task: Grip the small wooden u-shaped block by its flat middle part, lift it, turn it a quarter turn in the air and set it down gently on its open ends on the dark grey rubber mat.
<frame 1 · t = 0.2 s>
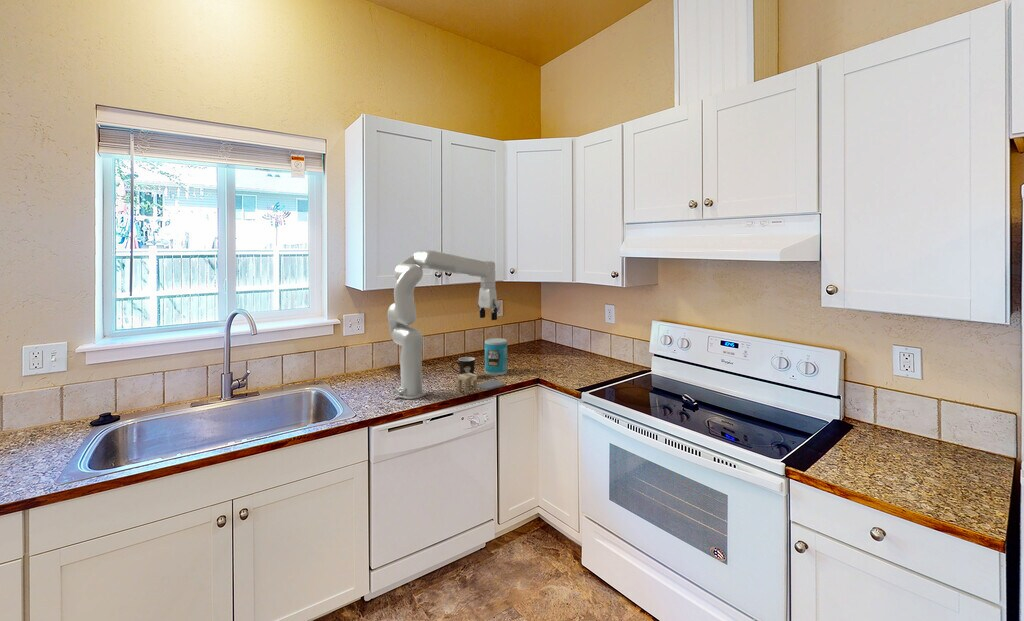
hand: (488, 318, 230), 31 cm above the worktop, tool pointing down, fingers open, 9 cm apart
food can: (496, 373, 242), on the worktop
coffee mug: (464, 377, 234), on the worktop
mat: (491, 385, 220), on the worktop
wooden u-shaped block: (467, 391, 211), on the worktop
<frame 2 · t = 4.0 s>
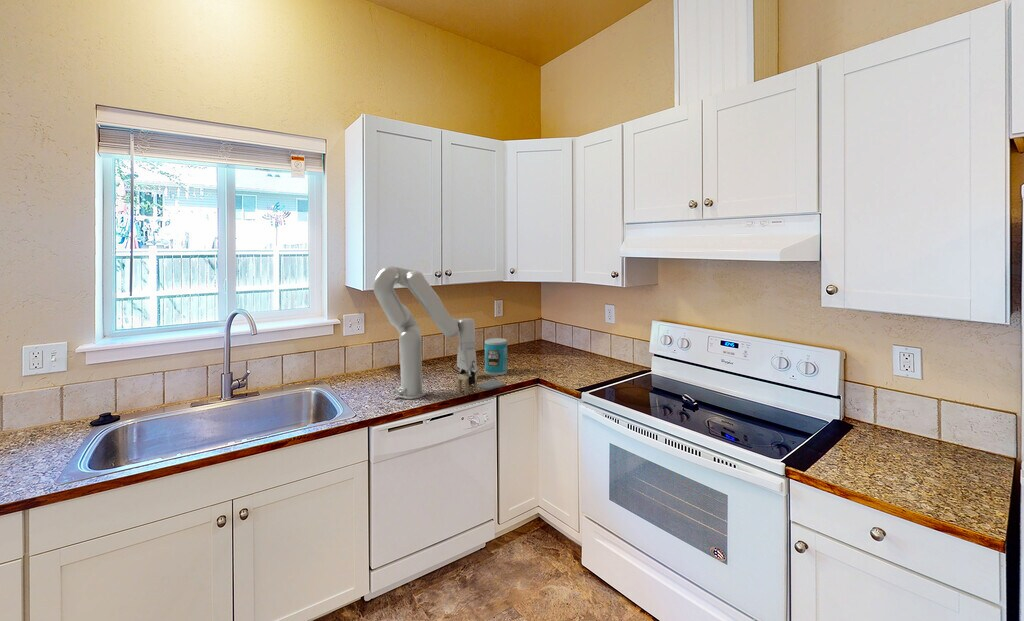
hand: (467, 382, 210), 5 cm above the worktop, tool pointing down, fingers closed on wooden u-shaped block, 6 cm apart
wooden u-shaped block: (467, 391, 211), on the worktop, touching gripper
everything else where it was.
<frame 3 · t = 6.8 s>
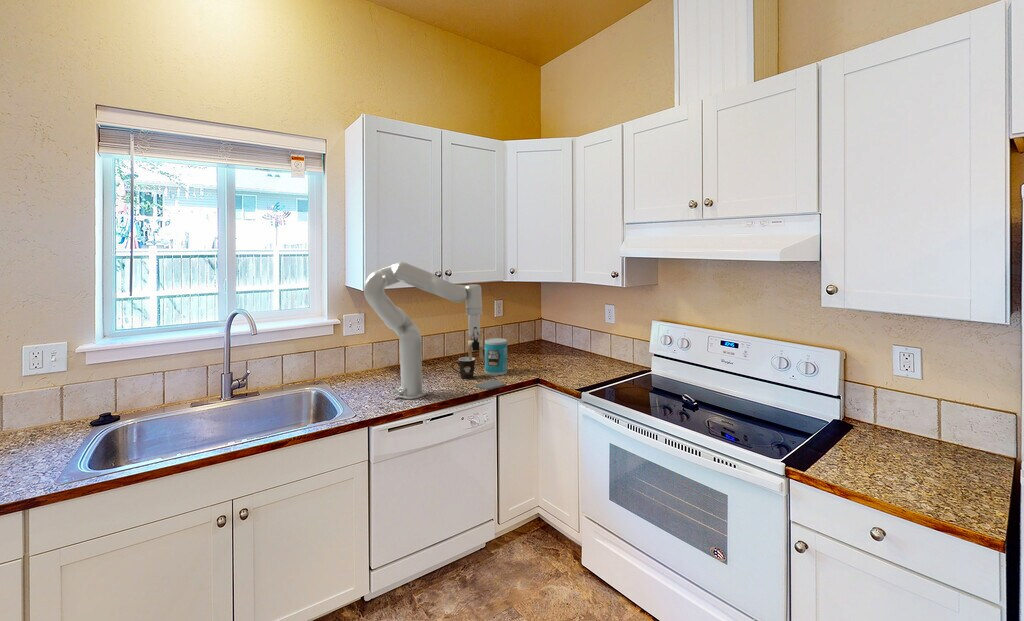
hand: (475, 348, 211), 20 cm above the worktop, tool pointing down, fingers closed on wooden u-shaped block, 6 cm apart
wooden u-shaped block: (475, 358, 212), point 16 cm above the worktop, touching gripper
everything else where it was.
when the fingers open (7 cm above the worktop, at t = 9.7 s): wooden u-shaped block drops 1 cm, resting on mat.
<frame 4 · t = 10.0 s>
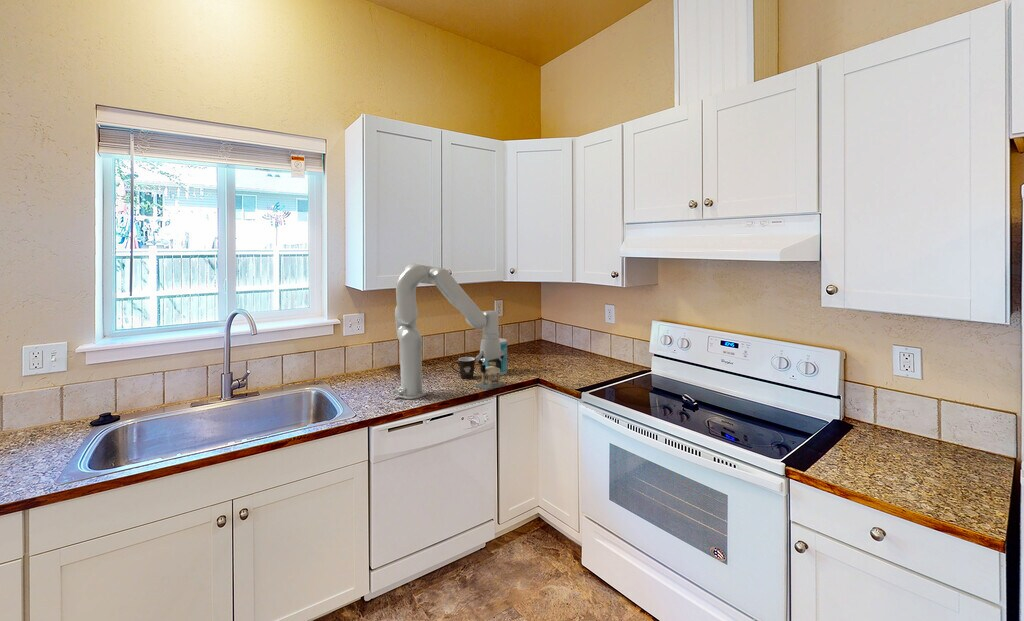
hand: (490, 370, 219), 8 cm above the worktop, tool pointing down, fingers open, 9 cm apart
wooden u-shaped block: (490, 384, 220), point 1 cm above the worktop, touching mat
everything else where it was.
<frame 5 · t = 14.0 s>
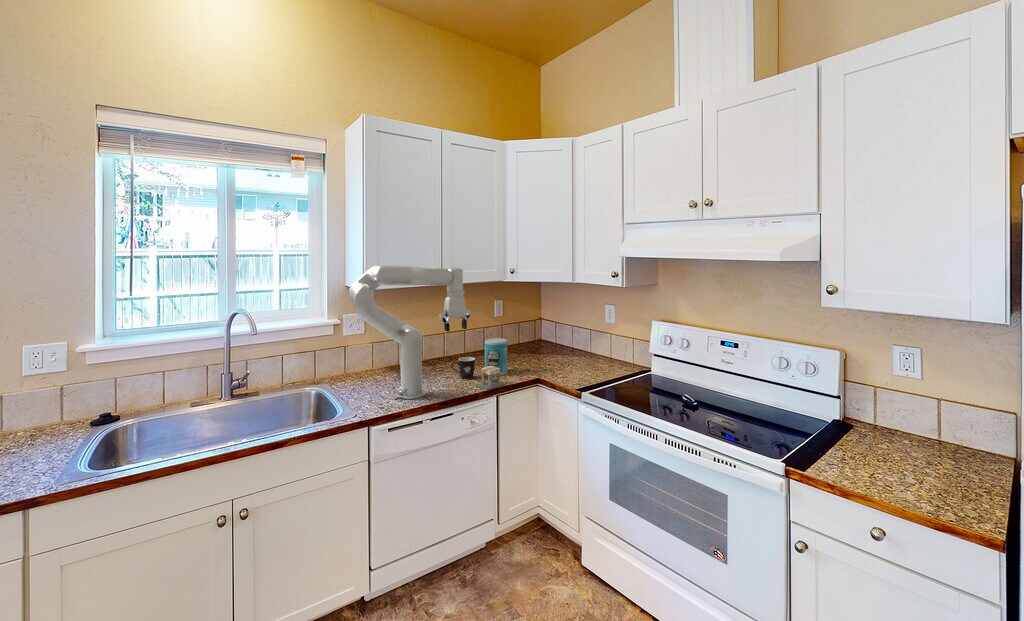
hand: (455, 329, 214), 28 cm above the worktop, tool pointing down, fingers open, 9 cm apart
nothing on the worktop moved.
at the end: wooden u-shaped block inside the target area (0.0 cm from its centre), point 0.8 cm above the worktop; wooden u-shaped block tilted 0°; the gripper is holding nothing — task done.
